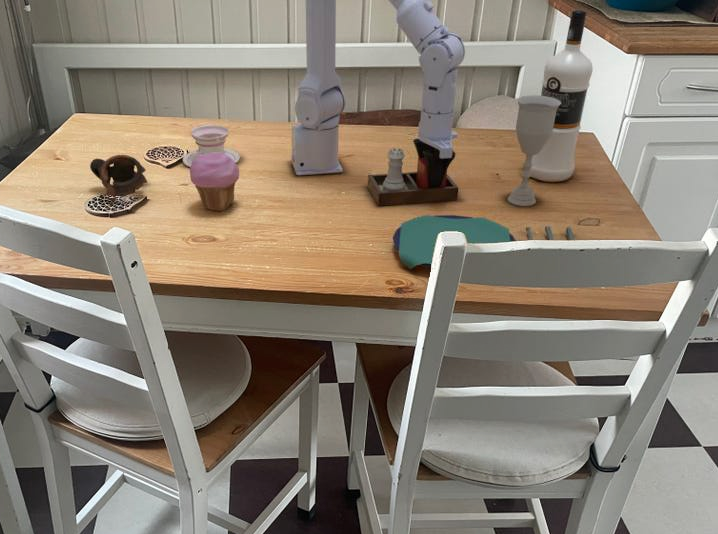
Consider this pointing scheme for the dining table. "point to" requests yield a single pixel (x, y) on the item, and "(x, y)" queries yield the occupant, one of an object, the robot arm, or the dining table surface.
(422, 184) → the brick-red block
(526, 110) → the chalice
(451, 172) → the dining table surface
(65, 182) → the dining table surface
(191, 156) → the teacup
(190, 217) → the dining table surface
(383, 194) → the tray
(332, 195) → the dining table surface
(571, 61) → the vodka
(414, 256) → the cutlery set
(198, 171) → the cupcake
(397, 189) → the rook chess piece
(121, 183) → the pottery mug
